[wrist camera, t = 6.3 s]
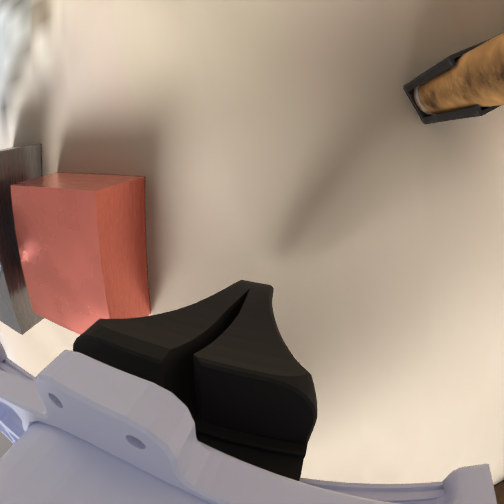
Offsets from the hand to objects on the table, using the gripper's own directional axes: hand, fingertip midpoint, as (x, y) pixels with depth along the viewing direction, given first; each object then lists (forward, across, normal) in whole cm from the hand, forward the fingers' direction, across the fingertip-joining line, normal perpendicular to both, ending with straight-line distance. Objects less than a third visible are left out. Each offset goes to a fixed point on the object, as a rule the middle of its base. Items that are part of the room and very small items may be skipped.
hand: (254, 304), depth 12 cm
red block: (+3, +10, 0) cm, 10 cm away
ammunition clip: (+3, -10, -12) cm, 16 cm away
